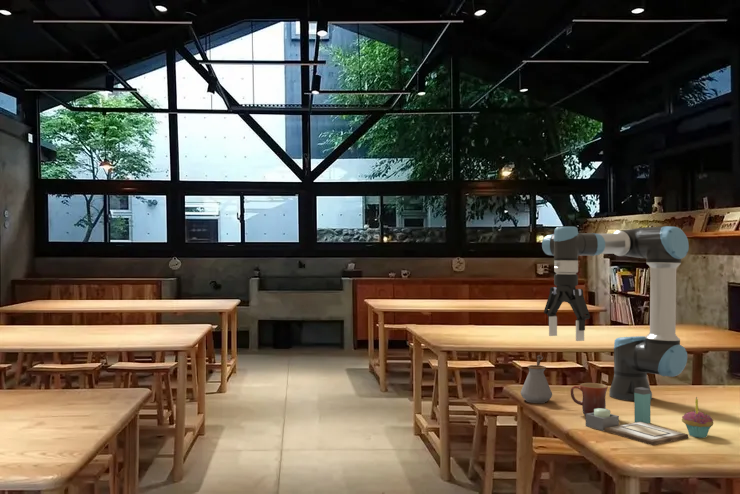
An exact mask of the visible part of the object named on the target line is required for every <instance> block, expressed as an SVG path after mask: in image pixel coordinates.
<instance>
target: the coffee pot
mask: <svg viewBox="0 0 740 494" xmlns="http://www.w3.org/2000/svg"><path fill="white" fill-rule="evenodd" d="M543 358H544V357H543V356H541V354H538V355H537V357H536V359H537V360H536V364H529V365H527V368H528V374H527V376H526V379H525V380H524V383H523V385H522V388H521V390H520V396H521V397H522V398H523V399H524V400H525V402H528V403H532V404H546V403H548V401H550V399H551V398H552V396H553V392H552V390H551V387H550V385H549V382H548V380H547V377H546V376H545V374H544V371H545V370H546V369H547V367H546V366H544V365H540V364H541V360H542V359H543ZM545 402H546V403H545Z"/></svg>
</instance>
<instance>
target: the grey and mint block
mask: <svg viewBox="0 0 740 494" xmlns="http://www.w3.org/2000/svg"><path fill="white" fill-rule="evenodd" d="M650 390H651V388H650V389H648V388H643V387H639V388H634V401H633V402H634V403H633V404H634V405H633V407H634V412H633V413H634V423H635V422H644V423H647V424H652V422H651V400H650Z"/></svg>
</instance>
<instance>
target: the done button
mask: <svg viewBox="0 0 740 494" xmlns="http://www.w3.org/2000/svg"><path fill="white" fill-rule="evenodd" d="M610 414H611V410H610V409H608V408H606V409H602V408H597V409H594V416H598V417H602V418H605V417H610Z"/></svg>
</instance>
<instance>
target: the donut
mask: <svg viewBox="0 0 740 494" xmlns="http://www.w3.org/2000/svg"><path fill="white" fill-rule="evenodd" d="M681 418H682V419H681V422H682V423H684V424H685V426H686V428H687V431H688V436H691V437H695V438H706V437H708V433H709V431H710V429H711V428H712V427H713V425H714V419H713V417H711V416H710V415H709V414H707V413H705V412H702V411H699V399H698V397H697V396H696V397H695V410H693V411H688V412H686V413H684V415H682V416H681Z"/></svg>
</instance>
